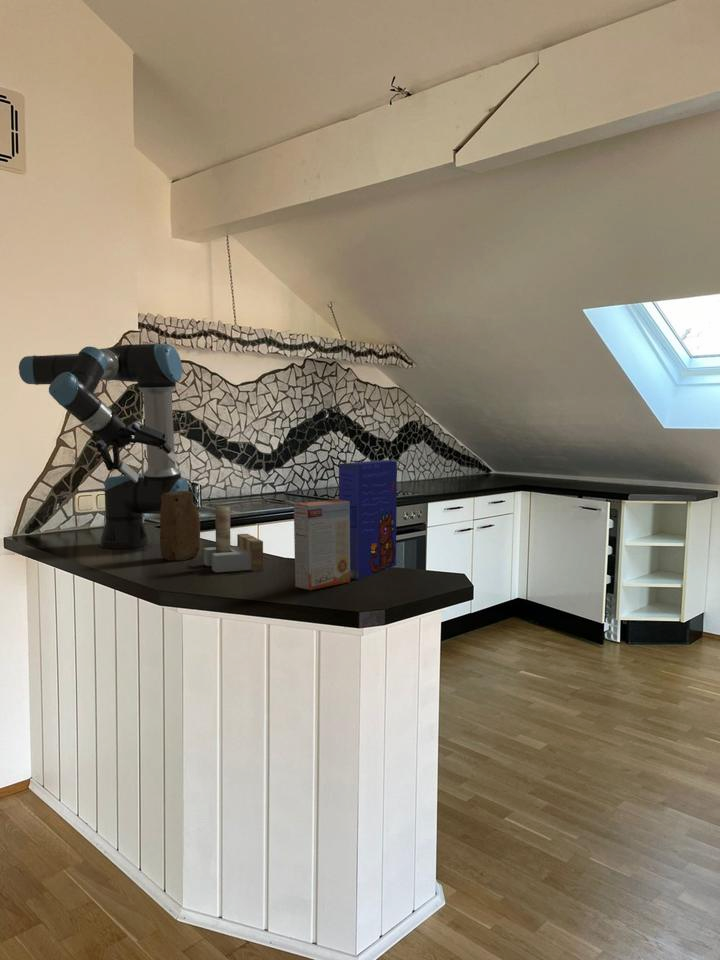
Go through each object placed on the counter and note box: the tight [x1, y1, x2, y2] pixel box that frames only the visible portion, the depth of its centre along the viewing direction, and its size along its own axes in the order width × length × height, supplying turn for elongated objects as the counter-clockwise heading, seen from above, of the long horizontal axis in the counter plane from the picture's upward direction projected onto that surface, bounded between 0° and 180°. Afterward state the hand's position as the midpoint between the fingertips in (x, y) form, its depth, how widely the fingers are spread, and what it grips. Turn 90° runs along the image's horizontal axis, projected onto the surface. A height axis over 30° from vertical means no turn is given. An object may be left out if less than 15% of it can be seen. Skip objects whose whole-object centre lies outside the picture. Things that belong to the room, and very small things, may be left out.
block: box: [159, 491, 201, 562], centre depth 218 cm, size 11×8×20 cm
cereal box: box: [338, 459, 398, 580], centre depth 200 cm, size 22×6×30 cm, turn 151°
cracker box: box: [293, 499, 351, 591], centre depth 183 cm, size 14×6×21 cm, turn 134°
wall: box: [236, 533, 264, 572], centre depth 208 cm, size 15×3×8 cm, turn 25°
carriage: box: [203, 545, 252, 573], centre depth 205 cm, size 14×10×4 cm
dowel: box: [214, 505, 231, 553], centre depth 204 cm, size 4×4×17 cm
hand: (156, 469), depth 206 cm, fingers open, 13 cm apart
